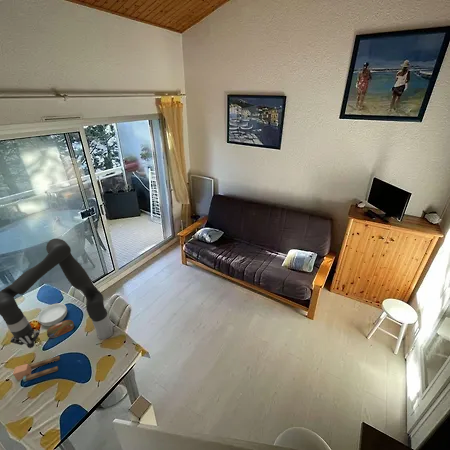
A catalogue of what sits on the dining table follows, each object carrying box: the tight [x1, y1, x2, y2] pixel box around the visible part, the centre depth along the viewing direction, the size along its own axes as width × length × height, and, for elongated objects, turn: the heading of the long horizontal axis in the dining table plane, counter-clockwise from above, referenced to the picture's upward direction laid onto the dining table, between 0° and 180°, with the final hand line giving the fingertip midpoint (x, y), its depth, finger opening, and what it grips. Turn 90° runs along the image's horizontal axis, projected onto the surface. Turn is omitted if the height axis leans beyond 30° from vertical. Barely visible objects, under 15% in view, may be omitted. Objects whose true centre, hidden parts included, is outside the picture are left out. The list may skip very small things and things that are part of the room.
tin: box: [46, 319, 75, 339], centre depth 159 cm, size 15×3×8 cm, turn 126°
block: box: [12, 363, 32, 381], centre depth 136 cm, size 6×4×6 cm, turn 113°
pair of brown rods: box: [22, 355, 61, 383], centre depth 140 cm, size 16×9×2 cm, turn 113°
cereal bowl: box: [37, 302, 68, 327], centre depth 168 cm, size 17×17×7 cm
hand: (32, 346), depth 130 cm, fingers closed
